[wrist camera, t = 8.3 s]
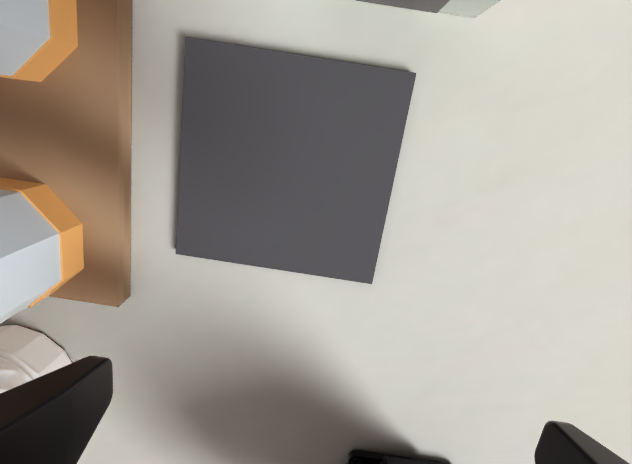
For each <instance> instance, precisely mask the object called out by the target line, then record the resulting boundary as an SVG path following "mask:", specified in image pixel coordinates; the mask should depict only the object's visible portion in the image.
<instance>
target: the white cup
mask: <svg viewBox="0 0 632 464" xmlns="http://www.w3.org/2000/svg"><path fill="white" fill-rule="evenodd" d="M71 363H72V362H71V361H70V359H69V357H68V356H67V354H66V352H65V351H64V350H63V349H62V348H61V347H59V346H58V345H57V344H56V343H54V342H53V341H52V340H51V339H49V338H48V337H47V336H45V335H44V334H42V333H39V332H36V331H34V330H31V329H28V328H25V327H21V326H18V325H6V326H0V393H3V392H5V391H7V390H10V389H12V388H15V387H17V386H19V385H22V384H24V383H26V382H29V381H31V380H33V379H36V378H38V377H41V376H43V375H45V374H48V373H50V372H52V371H55V370H57V369H59V368H62V367H64V366H66V365H69V364H71Z"/></svg>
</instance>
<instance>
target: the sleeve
mask: <svg viewBox="0 0 632 464" xmlns="http://www.w3.org/2000/svg"><path fill="white" fill-rule="evenodd" d="M77 47H78V35H77V3H76V0H0V77H4V78H11V79H19V80H27V81H36V82H42V81H43V80H44V79H45V78H46V77H47V76H48V75H49V74H50V73H51V72H52V71H53V70H54V69H55V68H56V67H57V66H58V65H59V64H60V63H61V62H62V61H63V60H64V59H65V58H66V57H67V56H68V55H69V54H70V53H72V52H73V51H74V50H75V49H76V48H77Z"/></svg>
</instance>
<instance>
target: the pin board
mask: <svg viewBox="0 0 632 464" xmlns="http://www.w3.org/2000/svg"><path fill="white" fill-rule="evenodd" d="M76 3H77V35H78V47H77V48H76V49H75V50H74V51H73V52H72V53H70V54H69V55H68V56H67V57H66V58H65V59H64V60H63V61H62V62H61V63H60V64H59V65H58V66H57V67H56V68H55V69H54V70H53V71H52V72H51V73H50V74H49V75H48V76H47V77H46V78H45V79H44V80H43V81H42V82H36V81H27V80H19V79H11V78H4V77H0V177H3V178H9V179H16V180H22V181H28V182H35V183H41V184H46V185H47V186H48V187H49V188H50V189H51V190H52V191H53V192H54V193H55V194H56V195H57V197H58V198H59V199H60V200H61V201H62V202H63V203H64V204H65V205H66V206H67V207H68V208H69V209H70V211H71V212H72V213H73V214H74V215H75V216H76V217H77V218H78V219H79V220H80V221H81V222H82V223H83V255H84V269H82V270H81V271H80V272H79V273H77V274H76V275H75V276H74V277H72V278H71V279H70V280H69V281H67V282H66V283H65V284H64V285H62V286H61V287H60V288H59V289H57V290H56V291H55V292H54V293H52V294H51V295H49V296H51V297H57V298H64V299H70V300H77V301H83V302H90V303H97V304H103V305H110V306H116V307H119V306H120V305H121V304H122V303H123V302H124V301H125V300H126V299H128V298H129V297H130V255H131V109H132V0H76Z"/></svg>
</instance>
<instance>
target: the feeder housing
mask: <svg viewBox="0 0 632 464" xmlns="http://www.w3.org/2000/svg"><path fill="white" fill-rule="evenodd" d="M357 1H363V2H370V3H376V4H382V5H389V6H395V7H401V8H408V9H414V10H420V11H427V12H433V13H438V12H440V13H446V14H453V15H459V16H465V17H471V18H475V17H477V16H478V15H480V14H481V13H483V12H484V11H486V10H487V9H488V8H490V7H491V6H493V5H494V4H496V3H497V2H499V1H500V0H357Z"/></svg>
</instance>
